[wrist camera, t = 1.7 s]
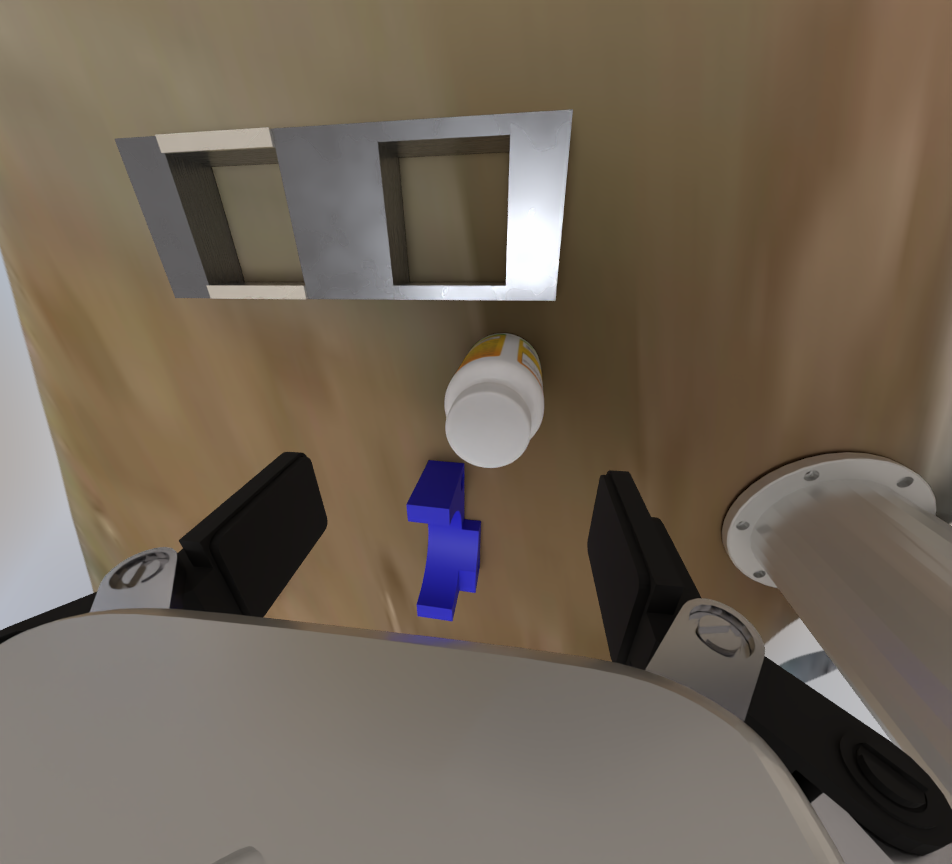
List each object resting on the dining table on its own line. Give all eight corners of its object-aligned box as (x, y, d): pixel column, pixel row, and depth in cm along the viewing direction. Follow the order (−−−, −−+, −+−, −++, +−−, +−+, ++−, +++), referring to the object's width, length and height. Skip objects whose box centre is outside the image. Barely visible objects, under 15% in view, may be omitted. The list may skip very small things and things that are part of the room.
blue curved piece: (479, 566, 34) (470, 623, 28) (435, 560, 34) (417, 615, 29) (482, 463, 28) (470, 511, 23) (429, 458, 29) (406, 504, 24)
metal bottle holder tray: (566, 131, 18) (573, 107, 15) (552, 295, 22) (555, 301, 19) (166, 153, 21) (110, 137, 18) (213, 293, 25) (172, 298, 22)
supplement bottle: (457, 393, 26) (419, 462, 17) (476, 321, 23) (443, 360, 14) (526, 414, 26) (523, 494, 17) (552, 345, 23) (565, 398, 14)
